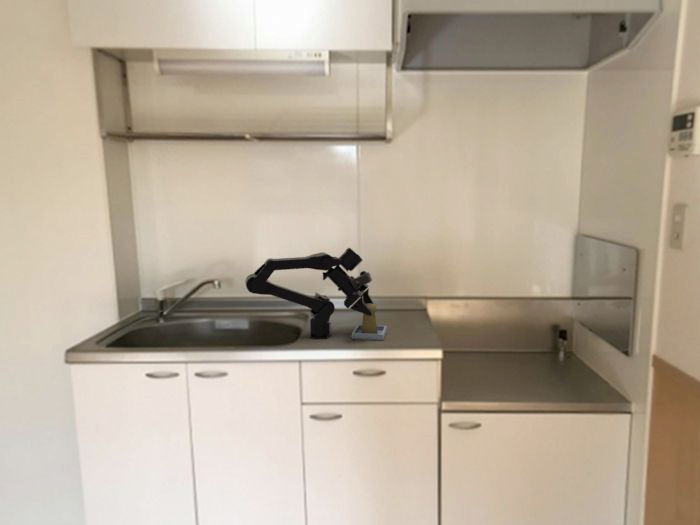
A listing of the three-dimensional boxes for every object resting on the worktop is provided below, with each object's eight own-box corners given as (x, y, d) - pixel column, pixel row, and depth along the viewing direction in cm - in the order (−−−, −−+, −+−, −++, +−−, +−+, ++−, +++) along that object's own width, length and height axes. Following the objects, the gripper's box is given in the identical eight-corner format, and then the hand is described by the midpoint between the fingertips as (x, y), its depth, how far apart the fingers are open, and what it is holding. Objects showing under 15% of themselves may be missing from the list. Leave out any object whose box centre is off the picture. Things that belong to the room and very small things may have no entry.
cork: (378, 331, 169) (378, 302, 168) (377, 336, 163) (377, 305, 162) (361, 331, 170) (361, 301, 168) (360, 336, 164) (359, 305, 162)
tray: (352, 339, 162) (351, 333, 162) (357, 330, 173) (357, 324, 173) (382, 340, 160) (382, 334, 160) (386, 331, 171) (386, 326, 170)
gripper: (352, 269, 155) (386, 302, 154) (362, 261, 173) (392, 291, 172) (330, 291, 157) (362, 324, 157) (342, 281, 175) (371, 311, 175)
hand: (373, 311), depth 165 cm, fingers open, 9 cm apart
